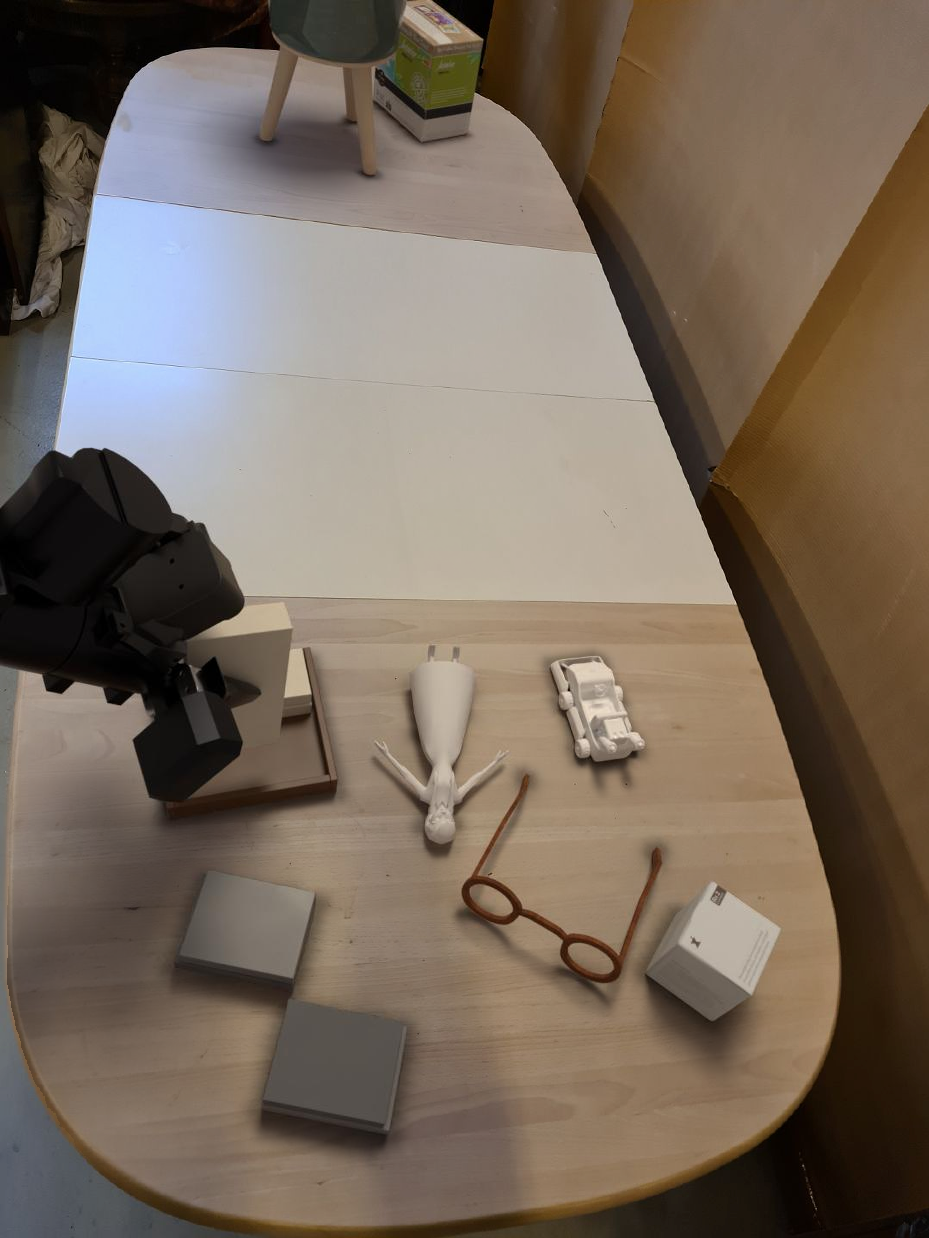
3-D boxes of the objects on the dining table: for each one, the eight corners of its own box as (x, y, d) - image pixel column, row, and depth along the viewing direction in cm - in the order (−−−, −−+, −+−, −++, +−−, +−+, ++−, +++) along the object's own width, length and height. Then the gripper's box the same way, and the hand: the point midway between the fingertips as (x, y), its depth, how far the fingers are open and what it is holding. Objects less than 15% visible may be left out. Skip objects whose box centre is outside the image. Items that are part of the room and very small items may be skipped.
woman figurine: (511, 642, 79) (518, 838, 69) (501, 667, 83) (506, 855, 73) (381, 631, 77) (370, 829, 68) (377, 656, 81) (365, 848, 71)
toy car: (602, 657, 86) (616, 632, 82) (645, 768, 79) (661, 744, 76) (544, 664, 84) (555, 638, 81) (582, 777, 77) (596, 753, 74)
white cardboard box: (711, 1023, 67) (753, 998, 61) (642, 973, 68) (677, 943, 62) (742, 958, 70) (784, 928, 64) (675, 911, 71) (711, 877, 66)
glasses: (454, 903, 69) (465, 880, 65) (524, 775, 77) (537, 748, 73) (605, 992, 67) (626, 974, 63) (661, 852, 74) (683, 827, 70)
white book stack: (209, 728, 73) (207, 710, 71) (203, 678, 76) (200, 659, 74) (311, 713, 76) (312, 695, 74) (301, 665, 79) (302, 646, 76)
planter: (362, 106, 147) (380, -148, 121) (423, 172, 137) (458, -89, 111) (236, 115, 138) (227, -157, 112) (293, 187, 128) (297, -94, 102)
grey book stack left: (175, 968, 63) (171, 955, 60) (205, 880, 67) (202, 865, 64) (292, 992, 63) (293, 981, 61) (315, 904, 67) (317, 890, 65)
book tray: (169, 820, 69) (166, 809, 67) (156, 679, 76) (153, 666, 74) (336, 790, 73) (338, 779, 71) (309, 659, 80) (310, 646, 78)
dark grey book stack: (261, 1109, 58) (260, 1102, 56) (288, 1006, 62) (288, 995, 60) (387, 1134, 59) (391, 1128, 56) (405, 1030, 63) (410, 1020, 60)
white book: (184, 759, 65) (183, 642, 55) (178, 732, 66) (176, 613, 57) (279, 743, 67) (293, 628, 58) (271, 716, 69) (284, 601, 60)
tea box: (370, 101, 148) (378, 0, 137) (418, 94, 153) (430, -4, 141) (420, 144, 142) (434, 42, 131) (469, 135, 147) (486, 37, 135)
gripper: (195, 672, 43) (382, 720, 56) (105, 420, 52) (285, 511, 65) (52, 797, 46) (261, 815, 59) (-9, 539, 55) (184, 603, 68)
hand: (249, 676), depth 62 cm, fingers closed on white book, 3 cm apart
